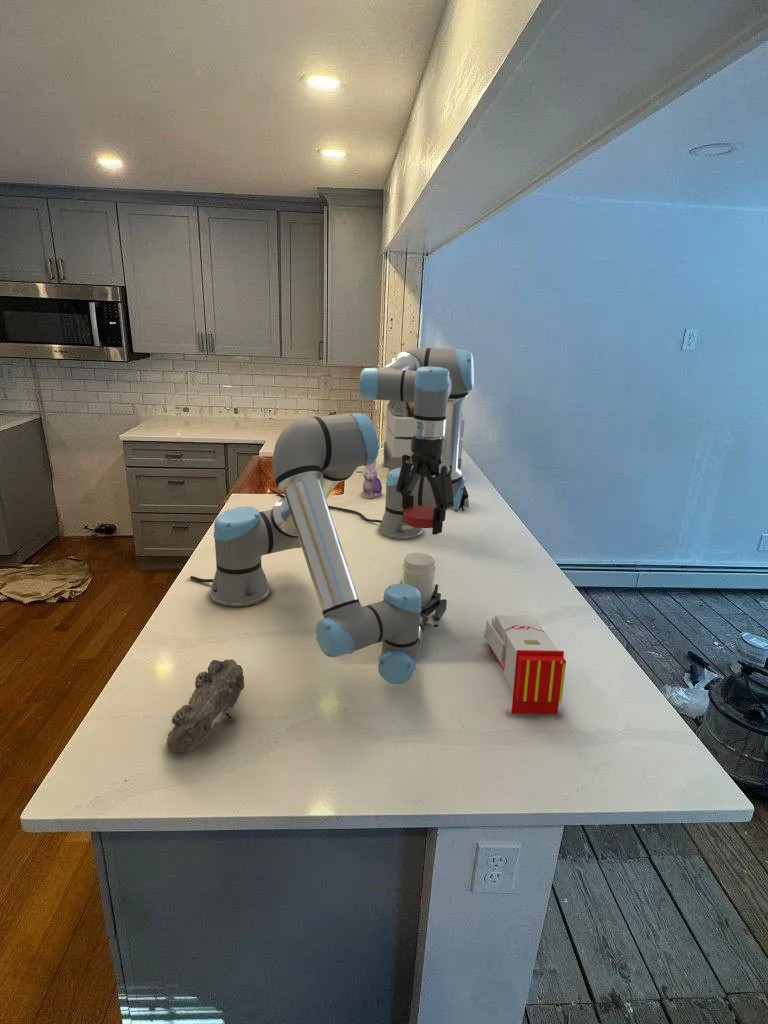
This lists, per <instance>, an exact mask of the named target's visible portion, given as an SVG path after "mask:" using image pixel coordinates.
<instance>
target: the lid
mask: <svg viewBox="0 0 768 1024" xmlns="http://www.w3.org/2000/svg"><path fill="white" fill-rule="evenodd" d="M433 516H434V508H432V507H427V506H413V507H408V508H406V509H405V510H404V518H403V521H404V523H405V524H407V525H409V526H412V527H416V528H422V529H433Z"/></svg>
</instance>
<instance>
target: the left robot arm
mask: <svg viewBox="0 0 768 1024" xmlns="http://www.w3.org/2000/svg"><path fill="white" fill-rule="evenodd" d="M379 447H380V445H379V436H378V432H377V428H376V427H375V425H374V423H373V421H372V420H371V418H370V417H369V416H368V415H366V414H364V413H360V412H358V413H357V412H355V413H353V412H348V413H340V414H328V415H319V416H302V417H299V418H296V419H295V420H293V421H291V422H290V423H288V424H287V425H286V426H285V427H284V428H283V430H282V431H281V432H280V434H279V436H278V437H277V440H276V442H275V444H274V449H273V454H272V465H271V466H272V474H273V479H274V483H275V485H276V489H277V491H278V492H279V493H281V494H283V495H284V496H285V498H283V497H281V498H280V499H278V500H277V501H276V503H275V504H274V505H273V507H272V509H268V510H262V511H259V510H258V508H256V507H252V506H245V507H244V506H238V507H233V508H229V509H227V510H225V511H223V512H222V513H220V514H219V515H218V516H217V517H216V518H215V519H214V522H213V524H214V525H213V526H214V527H213V529H214V531H213V538H214V547H215V548H214V550H215V561H216V562H215V564H216V570H215V573H214V577H213V578H200V577H197V576H194V575H190V577H189V579H190V580H192V581H196V582H198V583H212V584H211V587H210V598H211V599H212V601H213V602H214V603H216V604H217V605H220V606H223V607H228V608H244V607H249V606H254V605H256V604H259V603H261V602H262V601H264V600H265V599H267V597H269V594H270V585H269V582H268V579H267V577H266V573H265V572H264V569H263V566H262V556H265V555H270V554H274V553H280V552H284V551H288V550H292V549H293V550H294V549H301V550H302V553H303V556H304V559H305V563H306V565H307V569H308V572H309V574H310V578H311V582H312V584H313V588H314V591H315V593H316V597H317V600H318V602H319V606H320V609H321V613H322V616H323V618H322V619H320V620H318V621H317V623H316V625H315V635H316V636H315V639H316V642H317V645H318V647H319V649H320V651H321V652H322V653H323V655H325V656H326V657H328V658H333V659H334V658H337V657H342V656H344V655H351V654H353V653H354V652H357V651H360V650H361V649H364V648H367V647H370V646H372V645H375V644H379V643H381V651H380V652H381V653H380V655H379V656H378V664H377V671H378V674H379V676H380V677H381V678H382V679H383V680H384V681H385V682H387V683H389V684H392V685H397V686H398V685H404V684H407V682H410V680H411V679H412V677H413V676H414V673H415V670H417V661H418V657H419V652H420V648H421V644H422V640H423V637H424V632H425V629H426V627H427V626H428V625H433V627H434V628H439V627H440V621H441V619H442V617H443V616H444V615H445V613H446V610H447V607H448V606H447V605H448V600H447V599H445V598H443V599H442V593H441V592H439V584H436V583H434V593H433V599H432V600H431V601H430V602H429V603H427V604H426V605H425V606H421V594H420V592H419V590H418V589H416V588H414V587H413V586H411V585H408V584H401V583H402V579H401V580H400V583H394V584H390V585H389V586H388V587H387V588H386V589H384V593H383V594H384V595H383V596H382V598H383V599H382V600H381V601H377V602H375V603H374V602H373V603H371V604H367V605H365V606H362V604H361V602H360V599H359V596H358V593H357V590H356V587H355V584H354V581H353V577H352V575H351V572H350V569H349V568H350V567H349V565H348V563H347V562H348V561H347V559H346V556H345V553H344V551H343V547H342V545H341V542H340V541H341V540H340V538H339V535H338V532H337V529H336V526H335V523H334V519H333V517H332V513H331V510H330V508H329V507H328V506H329V505H328V502H327V499H328V497H330V495H331V493H332V492H333V491H334V489H335V488H336V487H337V485H338V483H340V482H344V481H347V480H348V479H350V478H351V477H352V475H353V474H354V473H355V471H356V470H357V469H358V468H359V467H361V466H362V467H363V466H364V467H366V466H368V465H369V464H370V465H371V464H372V463H374V462H375V460H376V461H377V458H378V456H379V450H380V448H379ZM431 613H432V616H431V617H430V618H428V617H427V616H429V615H430V614H431Z"/></svg>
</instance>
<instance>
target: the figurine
mask: <svg viewBox="0 0 768 1024" xmlns="http://www.w3.org/2000/svg"><path fill="white" fill-rule="evenodd" d="M376 465H377V459H376V460H375V462H374V463H372V464H369V465H368V466H365V470H364V472H363V477H364V481H363V482H362V493H361V494H362V496H363V498H366V499H373V498H378V497H380V496H381V495H382V491H383V486H382V485H383V484H382V482H381V480H380V478H378V477H377V476H378V473H377V470H376Z"/></svg>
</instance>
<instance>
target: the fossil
mask: <svg viewBox="0 0 768 1024" xmlns="http://www.w3.org/2000/svg"><path fill="white" fill-rule="evenodd" d="M243 670H244V669H243V667H242V665H240V664H237V662H236V661H235V660H234V659H232V658H231V659H227V658H226V659H224V660H223V661H222V660H217V659H212V660H211V661H210V663H209V665H208V666H207V671H201V672H199V673H198V674H197V675H196V676H195V680H194V684H195V685H194V687H195V689H194V690H193V693H192V694H191V697H190V698H189V700H188V704H184V705H182V706H181V707H180V709H177V710H176V711H175V713H174V715H173V716H172V718H171V723H172V724H173V727H172V730H171V731H170V732H168V734H167V738H166V741H167V742H166V745H167V749H168V750H169V751H173V752H174V753H176V754H178V753H182V752H188V751H189V752H192V751H193V750H195V748H196V747H197V746H199V744H200V743H201V742H203V741H204V740H205V739H206V738H207V737H208V736H209V735H210V734H211V733H212V732H214V730H215V729H217V727H218V726H219V724H220V722H221V721H222V720H223V719H224V718H225V716H226V717H227V719H229V720H233V717H232V715H230V714H229V710H230V709H231V708H234V706H235V704H236V703H237V702H238V699H239V697H240V695H241V693H242V691H243V690H245V689H244V688H245V675H244V671H243Z"/></svg>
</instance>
